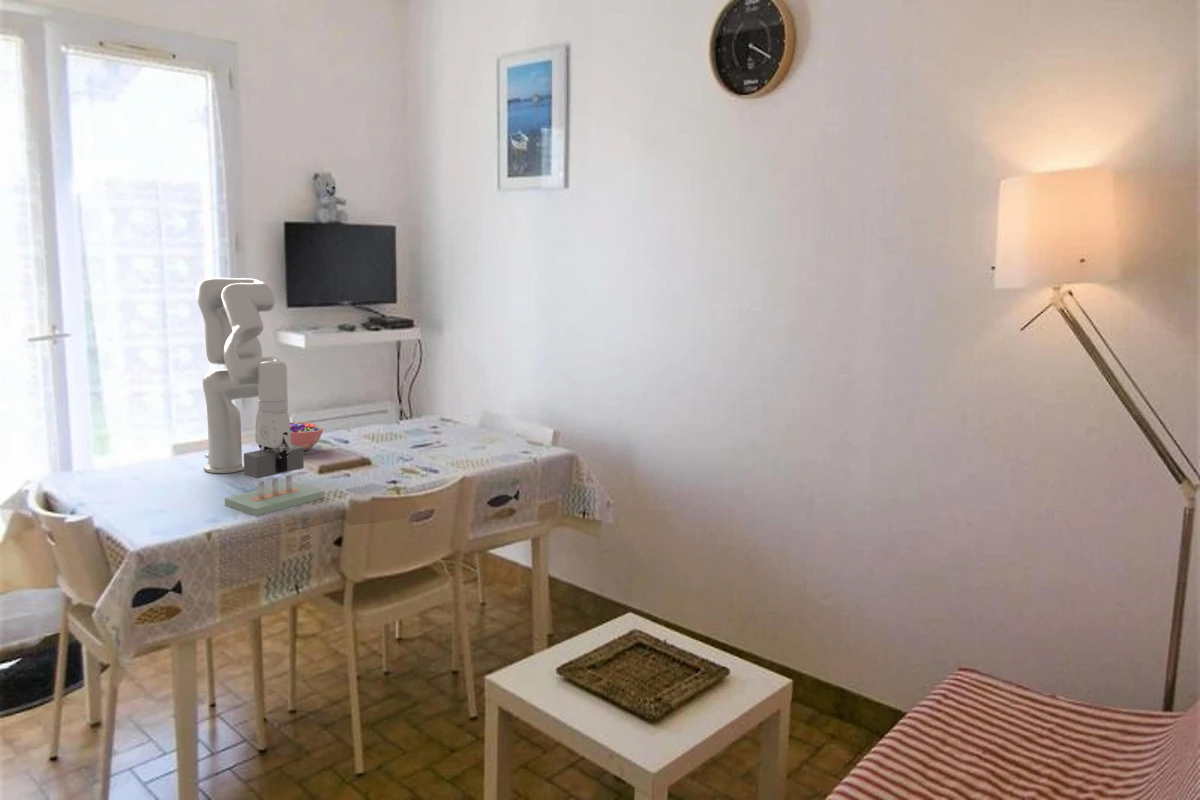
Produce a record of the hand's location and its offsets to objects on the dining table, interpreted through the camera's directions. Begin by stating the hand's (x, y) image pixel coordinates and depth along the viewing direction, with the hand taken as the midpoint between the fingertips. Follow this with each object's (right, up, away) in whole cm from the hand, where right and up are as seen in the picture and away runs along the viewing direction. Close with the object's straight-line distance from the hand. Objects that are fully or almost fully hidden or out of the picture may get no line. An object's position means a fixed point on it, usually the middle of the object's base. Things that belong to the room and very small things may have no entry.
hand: (274, 468), depth 237 cm
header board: (0, -9, +2) cm, 9 cm away
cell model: (-15, +1, +56) cm, 58 cm away
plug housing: (+1, 0, +2) cm, 2 cm away
